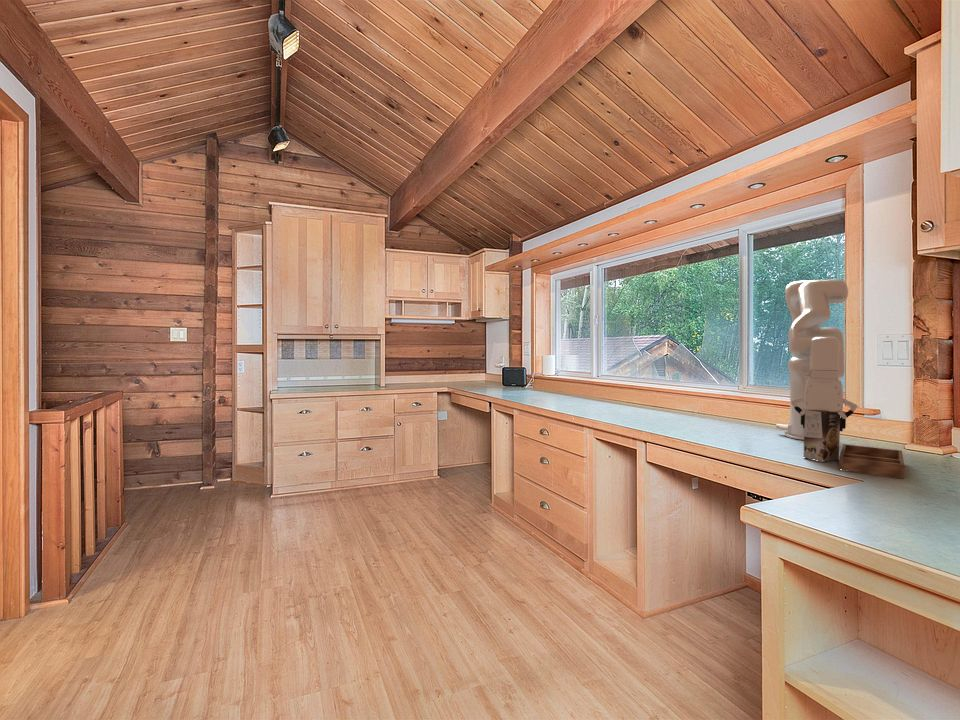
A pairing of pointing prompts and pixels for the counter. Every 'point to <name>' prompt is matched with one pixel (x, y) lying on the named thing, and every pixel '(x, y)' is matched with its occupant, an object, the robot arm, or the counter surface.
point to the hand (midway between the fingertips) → (822, 429)
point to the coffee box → (821, 435)
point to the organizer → (872, 461)
